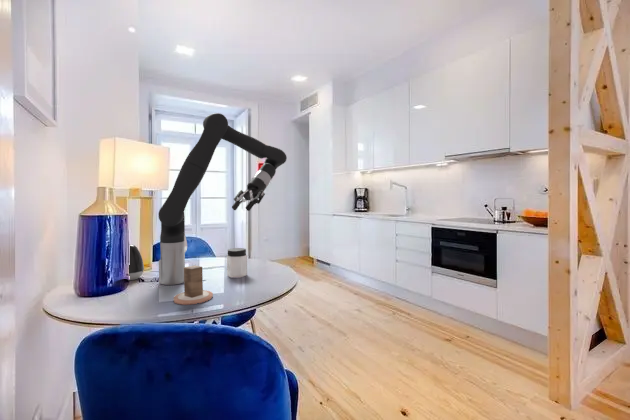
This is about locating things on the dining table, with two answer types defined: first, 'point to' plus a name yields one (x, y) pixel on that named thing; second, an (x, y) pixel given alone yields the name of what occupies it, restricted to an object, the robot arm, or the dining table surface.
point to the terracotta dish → (188, 300)
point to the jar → (236, 263)
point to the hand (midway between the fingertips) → (240, 209)
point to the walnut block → (193, 281)
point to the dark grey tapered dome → (135, 263)
